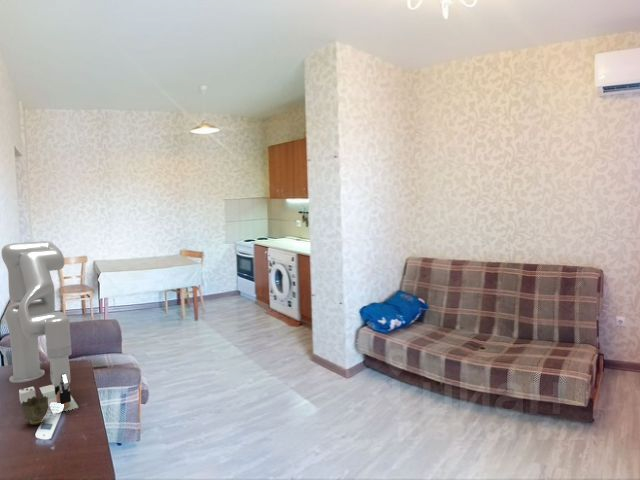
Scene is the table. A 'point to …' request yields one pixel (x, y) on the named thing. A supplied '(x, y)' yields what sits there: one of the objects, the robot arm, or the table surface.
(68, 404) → the pawn
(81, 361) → the table surface
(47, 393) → the board
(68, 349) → the robot arm
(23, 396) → the die
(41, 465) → the table surface
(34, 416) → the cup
